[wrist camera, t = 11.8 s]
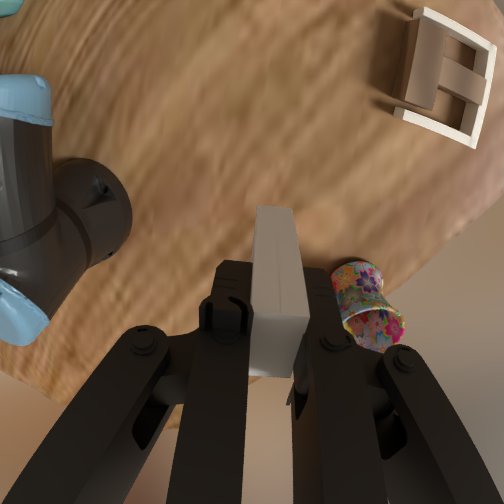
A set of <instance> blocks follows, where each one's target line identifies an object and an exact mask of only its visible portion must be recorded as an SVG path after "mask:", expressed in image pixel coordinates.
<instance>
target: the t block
mask: <svg viewBox="0 0 504 504" xmlns="http://www.w3.org/2000/svg"><path fill="white" fill-rule="evenodd" d="M447 32H448V31H447V30H445V29H443V28H441V27H439V26H437V25H435V24H432V23H430V22H428V21H426V20H424V19H422V18H418V19H415V20H412V21H409V22H406V26H405V32H404V38H403V44H402V49H401V55H400V60H399V65H398V70H397V75H396V80H395V84H394V89H393V93H392V98H395V99H398V100H401V101H403V102H406V103H409V104H411V105H414V106H417V107H420V108H423V109H427V110H430V111H432V110H433V105H434V101H435V97H436V92H437V89H439V90H442V91H444V92H446V93H448V94H450V95H452V96H454V97H456V98H458V99H460V100H462V101H464V102H468V103H472V104H476V105H480V106H482V102H483V97H484V92H485V87H486V82H487V79H485V78H483V77H482V76H480V75H478V74H477V73H475V72H473V71H471V70H470V69H468V68H466V67H464V66H462V65H460V64H459V63H457V62H455V61H453V60H451V59H449V58H447V57H445V56H444V51H445V45H446V39H447Z"/></svg>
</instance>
